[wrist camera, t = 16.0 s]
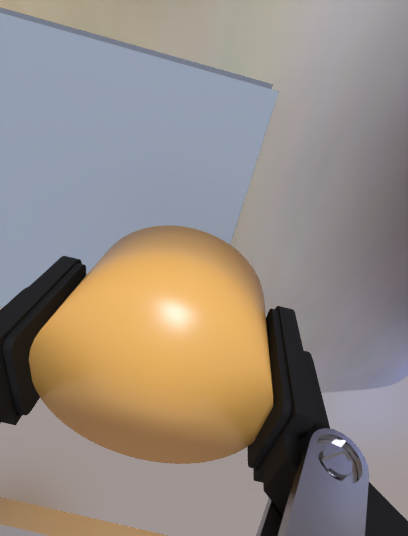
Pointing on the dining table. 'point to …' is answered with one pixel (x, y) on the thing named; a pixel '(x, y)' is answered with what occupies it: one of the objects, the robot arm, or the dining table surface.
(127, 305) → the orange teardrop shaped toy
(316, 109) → the dining table surface
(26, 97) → the lid
